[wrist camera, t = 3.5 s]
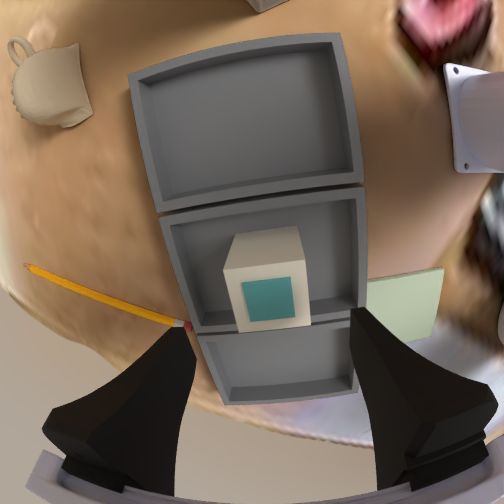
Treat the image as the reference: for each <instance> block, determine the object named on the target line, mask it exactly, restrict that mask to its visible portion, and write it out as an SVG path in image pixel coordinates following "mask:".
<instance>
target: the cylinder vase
mask: <svg viewBox="0 0 504 504" xmlns="http://www.w3.org/2000/svg"><path fill="white" fill-rule="evenodd" d="M498 335H499V339H500V341H501V342H502V343H503V345H504V303H503V305H502V308H501V311H500V315H499V320H498Z"/></svg>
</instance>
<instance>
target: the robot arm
mask: <svg viewBox="0 0 504 504" xmlns="http://www.w3.org/2000/svg"><path fill="white" fill-rule="evenodd" d="M453 68H454V69H455V71H456V73H455V72H454V71H453ZM443 72H444V77H445V82H446V87H447V93H448V100H449V107H450V115H451V123H452V134H453V148H454V167H455V170H456V171H457V172H459V173H504V72H495V73H490V72H486V71H483V70H479V69H475V68H470V67H466V66H461V65H456V64H451V63H446V64H444V65H443ZM465 163H466V168H464V165H465ZM349 346H350V351H351V356H352V361H353V365H354V368H355V371H356V374H357V377H358V380H359V383H360V386H361V389H362V393H363V396H364V399H365V402H366V405H367V409H368V413H369V419H370V424H371V430H372V437H373V444H374V452H375V462H376V475H377V491H375V492H370V493H366V494H361V495H356V496H351V497H346V498H339V499H333V500H325V501H318V502H308V503H295V504H493V503H494V502H496V501H497V500H499V499H501V498H502V497H504V434H503V435H501V436H499V437H497V438H496V439H494V440H492V441H491V442H490V443H488V444H487V445H486V446H485V443H484V441H483V440H484V439H485V438H486V434H485V432H484V430H483V429H484V428H485V427H486V425H487V424H488V423H489V421H490V420H491V419H492V417H493V416H494V414H495V413H496V411H497V408H498V402H497V400H496V398H495V396H494V394H493V392H492V391H491V389H490V388H489V386H488V385H487V384H484V383H481V382H477V381H474V380H471V379H468V378H465V377H462V376H460V375H457V374H455V373H452V372H450V371H448V370H446V369H444V368H442V367H440V366H438V365H436V364H434V363H432V362H431V361H429V360H427V359H426V358H424V357H423V356H421V355H420V354H418V353H417V352H415V351H414V350H412V349H411V348H409V347H408V346H407V345H406V344H404V343H403V342H402V341H401V340H399V339H398V338H397V337H396V336H395V335H394V334H393V333H391V332H390V331H389V330H388V329H387V328H386V327H385V326H384V325H383V324H382V323H381V322H380V321H379V320H378V319H377V318H376V317H374V316H373V315H372V314H371V312H370V311H369V310H367V309H366V308H365V307H359V308H353V309H350V338H349ZM196 361H197V358H196V356H195V353H194V351H193V349H192V346H191V344H190V341H189V339H188V336H187V333H186V331H185V328H184V326H183V327H171V328H170V329H169V330H168V331H167V332H166V333H164V334H163V335H162V336H161V337H160V338H159V339H158V340H157V341H156V342H155V343H154V344H153V345H152V346H151V347H150V348H149V349H148V350H147V351H146V352H145V353H144V354H143V355H142V356H141V357H140V358H139V359H137V360H136V361H135V362H134V363H133V364H132V365H131V366H129V367H128V368H127V369H126V370H125V371H123V372H122V373H121V374H120V375H118V376H117V377H116V378H114V379H113V380H111V381H110V382H108V383H107V384H105V385H104V386H102V387H100V388H99V389H97V390H95V391H94V392H92V393H90V394H88V395H87V396H84V397H82V398H80V399H78V400H75V401H73V402H71V403H68V404H65V405H62V406H60V407H57V408H54V409H52V411H51V413H50V414H49V416H48V418H47V420H46V422H45V423H44V425H43V427H42V430H43V433H44V434H45V436H46V437H47V438H48V439H49V440H50V441H51V442H52V443H53V444H54V445H55V446H57V447H58V448H59V449H60V450H61V451H62V452H63V453H64V454H65V455H67V456H66V458H65V460H64V459H62V458H61V457H59V456H57V455H55V454H53V453H50V452H48V451H46V450H43V451H42V453H41V455H40V457H39V459H38V461H37V463H36V465H35V467H34V469H33V471H32V473H31V475H30V477H29V479H28V481H27V483H26V488H27V489H28V490H30V491H31V492H33V493H35V494H36V495H38V496H39V497H41V498H42V499H44V500H46V501H47V502H49V503H50V504H229V503H216V502H206V501H198V500H190V499H184V498H178V497H174V481H175V479H174V476H175V463H176V452H177V444H178V437H179V431H180V425H181V421H182V417H183V413H184V410H185V406H186V403H187V400H188V397H189V393H190V390H191V387H192V383H193V380H194V375H195V369H196Z"/></svg>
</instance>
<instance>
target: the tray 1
mask: <svg viewBox="0 0 504 504" xmlns="http://www.w3.org/2000/svg"><path fill="white" fill-rule="evenodd" d="M128 80H129V87H130V93H131V99H132V105H133V110H134V116H135V121H136V126H137V131H138V136H139V141H140V146H141V151H142V155H143V160H144V164H145V168H146V173H147V177H148V181H149V185H150V189H151V193H152V197H153V201H154V205H155V208H156V212H157V213H160V212H165V211H170V210H175V209H180V208H185V207H190V206H196V205H201V204H207V203H212V202H218V201H224V200H230V199H236V198H242V197H248V196H255V195H261V194H268V193H275V192H282V191H289V190H297V189H304V188H312V187H320V186H329V185H338V184H347V183H357V182H365V180H364V168H363V158H362V149H361V140H360V132H359V125H358V118H357V112H356V105H355V100H354V94H353V88H352V83H351V78H350V73H349V68H348V64H347V59H346V55H345V50H344V46H343V42H342V38H341V34H340V33H312V34H297V35H286V36H277V37H269V38H262V39H255V40H249V41H243V42H238V43H233V44H228V45H223V46H219V47H214V48H210V49H206V50H202V51H198V52H194V53H191V54H187V55H184V56H180V57H177V58H174V59H171V60H167V61H164V62H161V63H158V64H155V65H153V66H150V67H147V68H144V69H142V70H139V71H136V72H134V73H131V74H129V75H128Z"/></svg>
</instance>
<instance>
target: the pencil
mask: <svg viewBox="0 0 504 504" xmlns="http://www.w3.org/2000/svg"><path fill="white" fill-rule="evenodd" d="M22 264H23V265H24V266H25V267H26V268H27V269H28V270H29V271H30V272H32V273H35V274H37V275H39V276H41V277H43V278H45V279H48V280H50V281H52V282H54V283H57V284H59V285H61V286H63V287H66V288H68V289H70V290H73V291H75V292H78V293H80V294H83V295H85V296H88V297H90V298H93V299H95V300H98V301H100V302H103V303H106V304H108V305H111V306H114V307H116V308H119V309H122V310H125V311H127V312H130V313H133V314H136V315H139V316H142V317H145V318H148V319H151V320H154V321H157V322H160V323H163V324H166V325H170V326H173V327H183V326H184V328H185V330H186V331H189V332H190V331H191V330H192V323H188V322H185V321H181V320H178V319H175V318H171V317H168V316H165V315H162V314H159V313H156V312H152V311H149V310H146V309H143V308H140V307H137V306H134V305H132V304H129V303H126V302H123V301H120V300H117V299H115V298H112V297H109V296H106V295H104V294H101V293H98V292H96V291H93V290H90V289H88V288H85V287H83V286H80V285H78V284H75V283H73V282H70V281H68V280H66V279H63V278H61V277H58V276H56V275H54V274H51V273H49V272H47V271H45V270H42V269H40V268H38V267H36V266H33V265H30V264H24V263H22Z"/></svg>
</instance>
